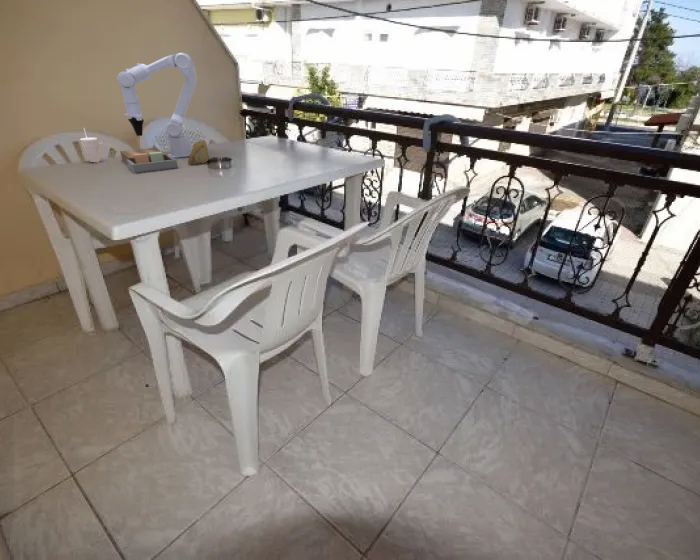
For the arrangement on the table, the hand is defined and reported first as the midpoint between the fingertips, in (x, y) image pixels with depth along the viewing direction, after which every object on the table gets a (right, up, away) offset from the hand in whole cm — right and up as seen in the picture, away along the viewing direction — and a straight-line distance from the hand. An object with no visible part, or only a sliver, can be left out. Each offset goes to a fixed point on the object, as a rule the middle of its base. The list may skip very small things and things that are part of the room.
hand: (139, 135), depth 172 cm
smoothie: (-16, -14, -6) cm, 22 cm away
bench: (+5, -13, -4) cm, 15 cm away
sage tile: (+12, -13, -9) cm, 20 cm away
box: (+13, -19, -12) cm, 26 cm away
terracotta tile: (+8, -15, -12) cm, 21 cm away
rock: (+28, -13, -1) cm, 31 cm away
